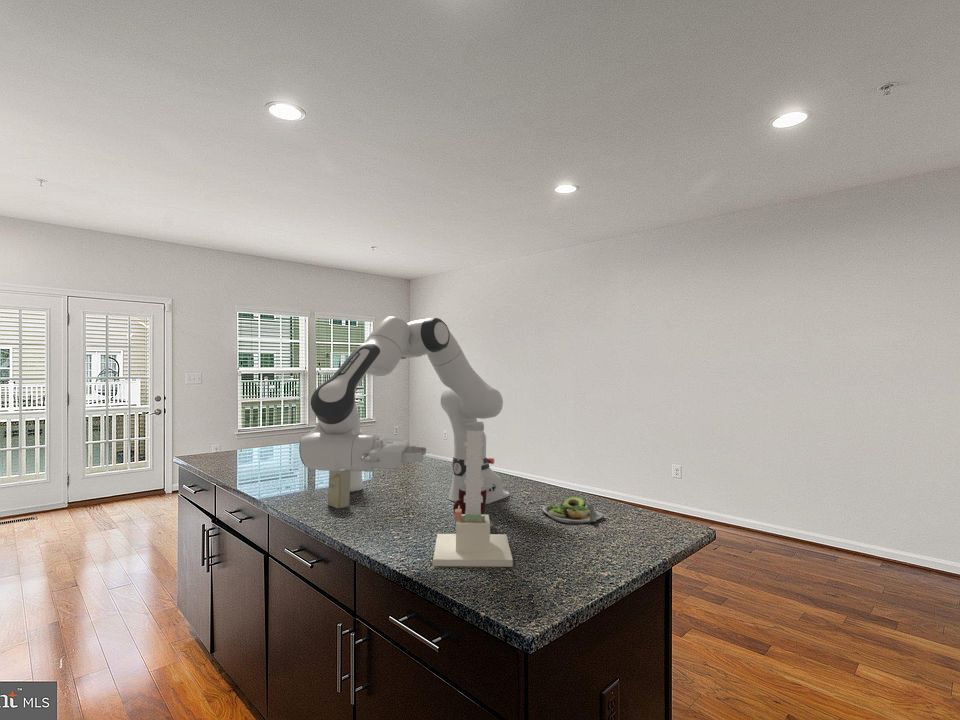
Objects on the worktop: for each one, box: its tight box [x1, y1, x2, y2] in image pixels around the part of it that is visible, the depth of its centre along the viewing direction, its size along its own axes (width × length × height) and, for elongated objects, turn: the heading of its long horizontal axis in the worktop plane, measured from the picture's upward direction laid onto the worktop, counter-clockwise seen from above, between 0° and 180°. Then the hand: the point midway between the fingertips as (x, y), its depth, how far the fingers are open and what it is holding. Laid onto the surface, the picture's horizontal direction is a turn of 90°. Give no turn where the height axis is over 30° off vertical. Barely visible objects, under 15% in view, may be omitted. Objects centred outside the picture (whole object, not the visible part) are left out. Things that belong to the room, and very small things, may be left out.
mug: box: [452, 486, 486, 515], centre depth 146 cm, size 10×8×10 cm
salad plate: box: [541, 496, 604, 525], centre depth 155 cm, size 19×18×5 cm
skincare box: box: [327, 469, 351, 509], centre depth 163 cm, size 6×4×12 cm
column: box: [464, 421, 485, 522], centre depth 124 cm, size 6×5×24 cm
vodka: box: [350, 428, 364, 493], centre depth 185 cm, size 9×9×30 cm
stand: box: [432, 508, 514, 568], centre depth 123 cm, size 18×18×10 cm
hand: (424, 454), depth 124 cm, fingers open, 8 cm apart
